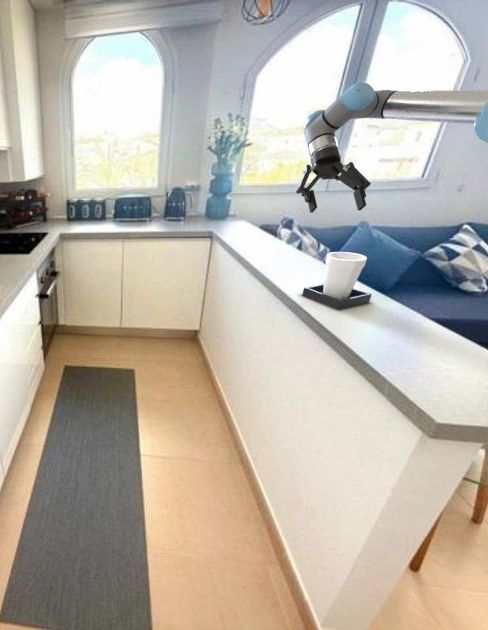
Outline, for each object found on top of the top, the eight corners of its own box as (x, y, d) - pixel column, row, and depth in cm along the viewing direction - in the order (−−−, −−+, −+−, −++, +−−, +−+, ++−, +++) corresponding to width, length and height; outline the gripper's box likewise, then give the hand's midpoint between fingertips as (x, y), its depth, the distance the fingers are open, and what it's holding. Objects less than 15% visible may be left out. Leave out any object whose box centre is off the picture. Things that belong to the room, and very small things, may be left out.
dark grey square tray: (369, 302, 104) (372, 294, 102) (338, 309, 101) (340, 301, 100) (330, 289, 114) (333, 281, 113) (301, 295, 111) (303, 287, 110)
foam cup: (338, 289, 111) (349, 250, 106) (361, 300, 103) (375, 259, 97) (309, 292, 111) (319, 253, 106) (331, 303, 103) (343, 262, 97)
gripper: (358, 159, 114) (374, 214, 108) (278, 165, 118) (288, 217, 111) (374, 142, 107) (392, 199, 100) (288, 148, 111) (299, 203, 104)
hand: (337, 209), depth 106 cm, fingers open, 13 cm apart
